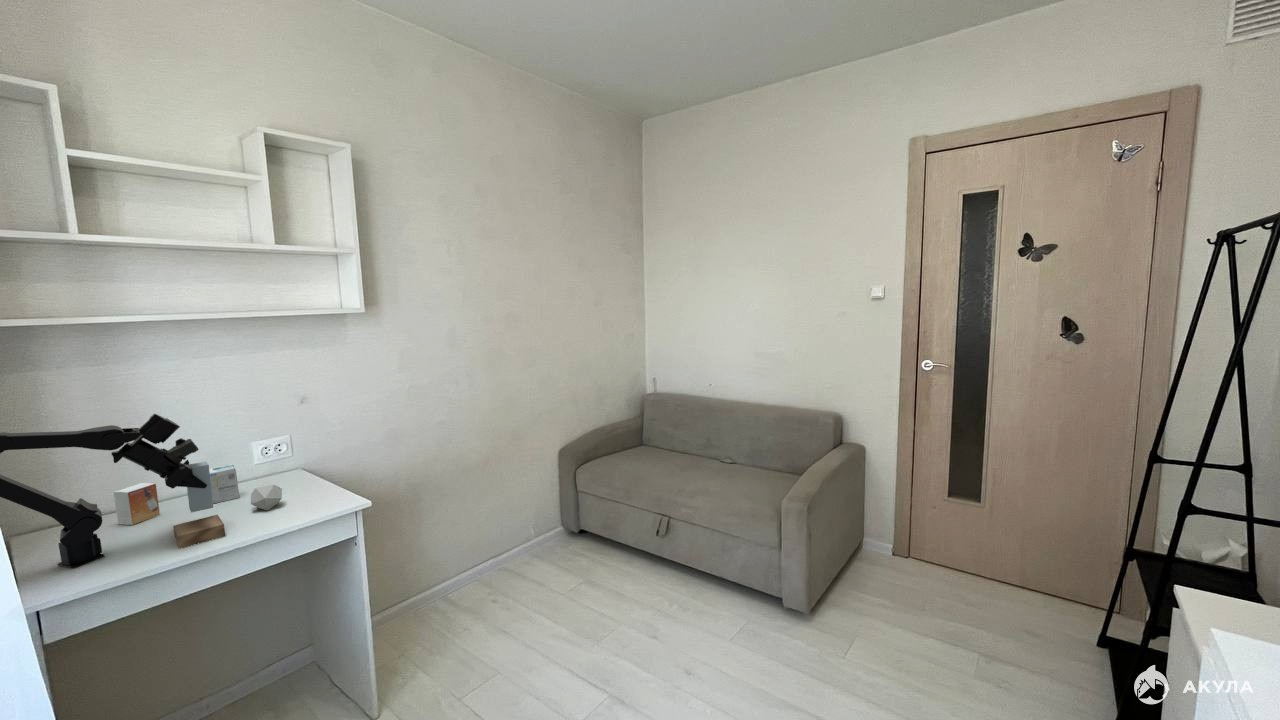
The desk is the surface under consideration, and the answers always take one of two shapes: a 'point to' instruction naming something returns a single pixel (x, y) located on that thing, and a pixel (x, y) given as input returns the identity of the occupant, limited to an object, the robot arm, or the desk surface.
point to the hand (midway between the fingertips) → (204, 484)
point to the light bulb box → (224, 483)
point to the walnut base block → (198, 531)
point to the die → (266, 496)
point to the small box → (136, 503)
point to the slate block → (200, 489)
